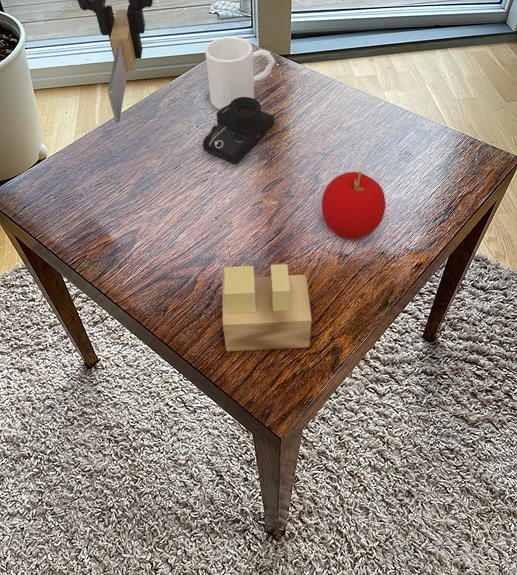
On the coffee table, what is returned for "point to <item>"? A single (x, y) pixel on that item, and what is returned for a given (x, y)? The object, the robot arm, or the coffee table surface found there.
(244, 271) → the butter block
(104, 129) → the coffee table surface
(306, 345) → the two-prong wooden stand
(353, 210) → the fruit
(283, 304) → the butter slice
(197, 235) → the coffee table surface
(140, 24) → the robot arm
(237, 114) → the film camera
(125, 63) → the knife
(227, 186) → the coffee table surface
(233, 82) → the mug
